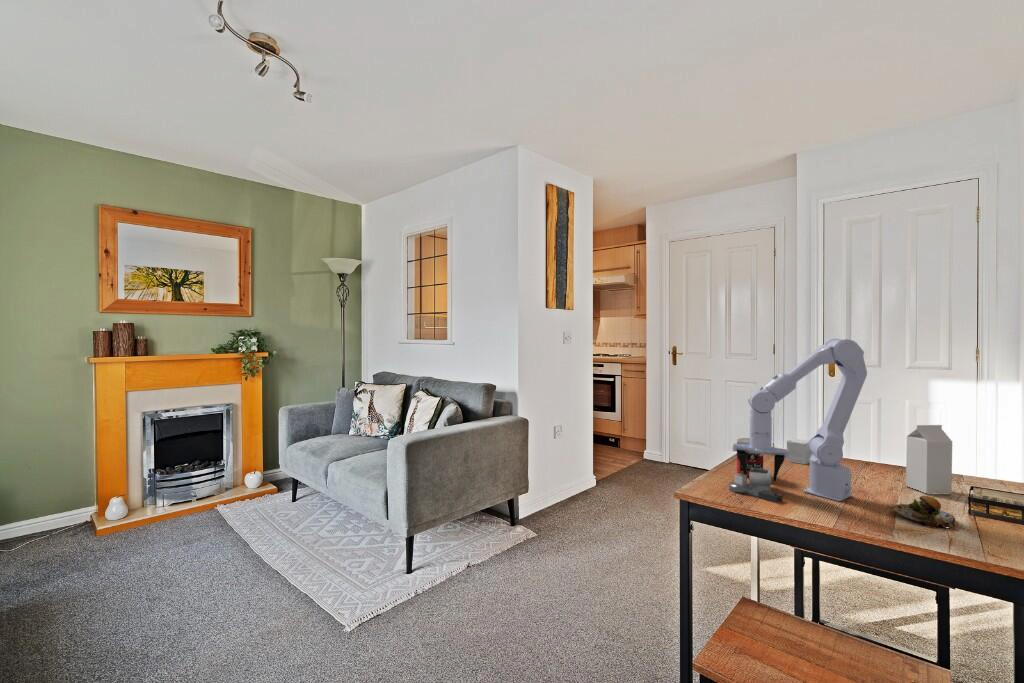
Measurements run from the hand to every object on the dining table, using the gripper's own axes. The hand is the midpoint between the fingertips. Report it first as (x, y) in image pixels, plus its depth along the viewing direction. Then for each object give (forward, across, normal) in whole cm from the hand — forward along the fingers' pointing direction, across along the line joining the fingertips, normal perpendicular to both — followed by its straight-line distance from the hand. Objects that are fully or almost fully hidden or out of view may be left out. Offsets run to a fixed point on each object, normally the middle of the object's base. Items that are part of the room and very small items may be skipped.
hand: (759, 478), depth 141 cm
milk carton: (+3, +42, +21) cm, 47 cm away
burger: (+3, +36, -6) cm, 37 cm away
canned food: (+3, -4, +13) cm, 14 cm away
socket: (+3, 0, 0) cm, 3 cm away
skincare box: (+3, +10, +38) cm, 40 cm away
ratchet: (+3, -1, -7) cm, 8 cm away
